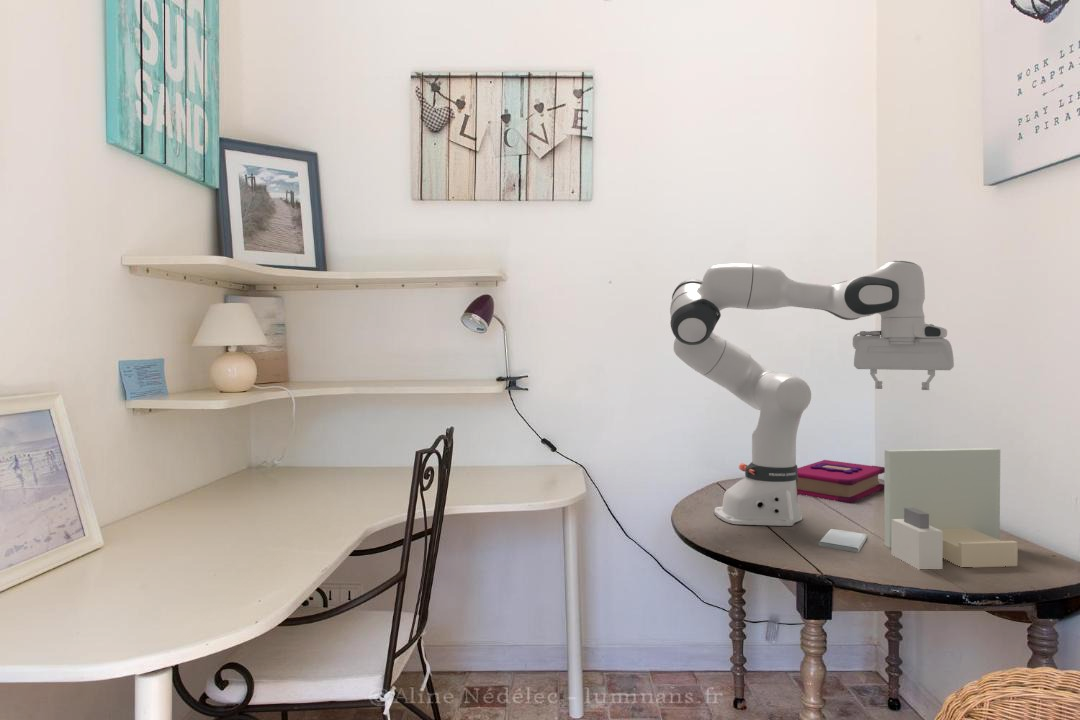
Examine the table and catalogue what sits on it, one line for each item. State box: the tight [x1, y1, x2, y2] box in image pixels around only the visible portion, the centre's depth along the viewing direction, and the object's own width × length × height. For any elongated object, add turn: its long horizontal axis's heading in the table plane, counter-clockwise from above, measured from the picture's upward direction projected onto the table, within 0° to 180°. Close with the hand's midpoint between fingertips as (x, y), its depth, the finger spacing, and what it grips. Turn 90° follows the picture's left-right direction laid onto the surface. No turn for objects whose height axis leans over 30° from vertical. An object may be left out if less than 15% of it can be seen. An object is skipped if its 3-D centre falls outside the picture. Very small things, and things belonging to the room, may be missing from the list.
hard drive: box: [818, 528, 868, 554], centre depth 143 cm, size 2×8×12 cm
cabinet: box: [890, 508, 943, 570], centre depth 130 cm, size 5×9×11 cm, turn 3°
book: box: [796, 459, 885, 504], centre depth 194 cm, size 21×28×8 cm
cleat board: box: [883, 447, 1019, 568], centre depth 134 cm, size 26×15×22 cm, turn 93°
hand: (901, 389), depth 144 cm, fingers open, 8 cm apart
